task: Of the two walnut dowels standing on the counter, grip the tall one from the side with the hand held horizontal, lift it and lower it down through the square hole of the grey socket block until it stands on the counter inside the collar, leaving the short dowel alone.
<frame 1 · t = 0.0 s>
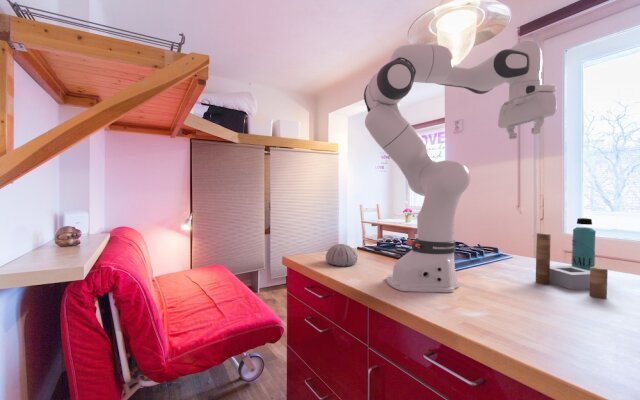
hand: (523, 136, 98), 48 cm above the kitchen island, tool pointing down, fingers open, 8 cm apart
long dowel: (542, 282, 96), on the kitchen island
sea urchin shell: (341, 264, 122), on the kitchen island
short dowel: (597, 296, 84), on the kitchen island
socket block: (570, 283, 95), on the kitchen island
beverage bottle: (582, 273, 108), on the kitchen island
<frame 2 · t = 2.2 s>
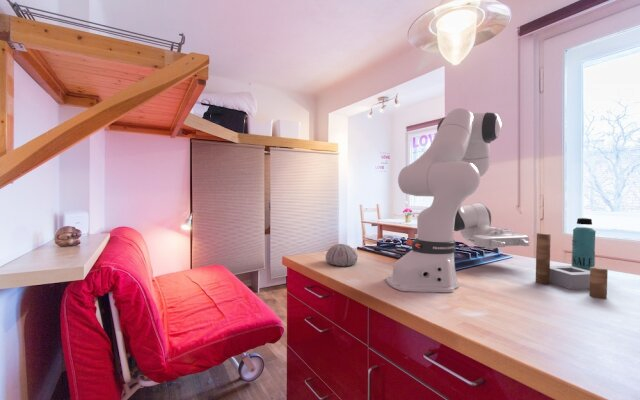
hand: (515, 244, 108), 10 cm above the kitchen island, tool horizontal, fingers open, 8 cm apart
nothing on the kitchen island moved.
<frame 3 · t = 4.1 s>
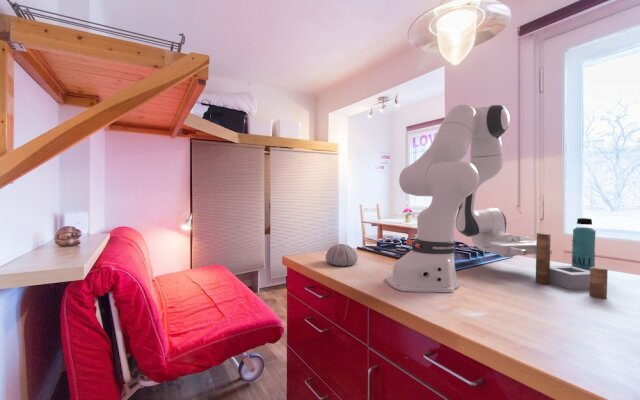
hand: (537, 252, 98), 9 cm above the kitchen island, tool horizontal, fingers open, 8 cm apart
nothing on the kitchen island moved.
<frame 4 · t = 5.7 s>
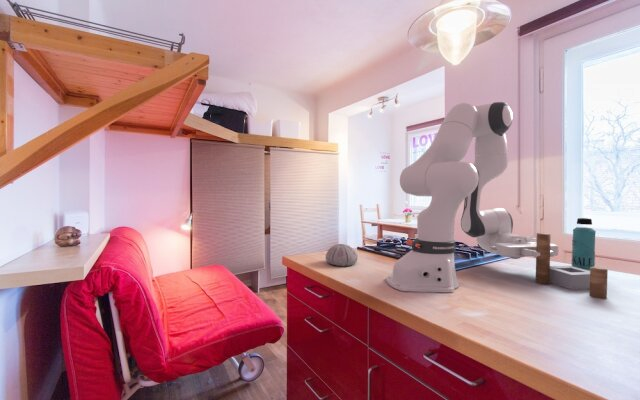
hand: (545, 254, 95), 10 cm above the kitchen island, tool horizontal, fingers closed on long dowel, 4 cm apart
long dowel: (542, 282, 96), on the kitchen island, touching gripper
everything else where it was.
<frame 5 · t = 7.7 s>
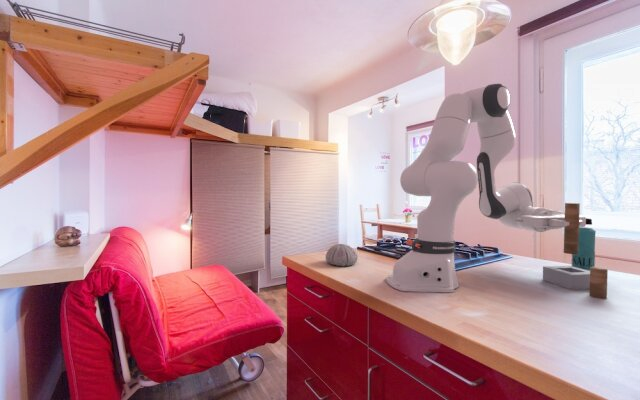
hand: (574, 223, 94), 19 cm above the kitchen island, tool horizontal, fingers closed on long dowel, 4 cm apart
long dowel: (570, 253, 95), point 10 cm above the kitchen island, touching gripper
everything else where it was.
when the fingers open (10 cm above the kitchen island, at t = 9.9 s): long dowel stays where it is, resting in socket block.
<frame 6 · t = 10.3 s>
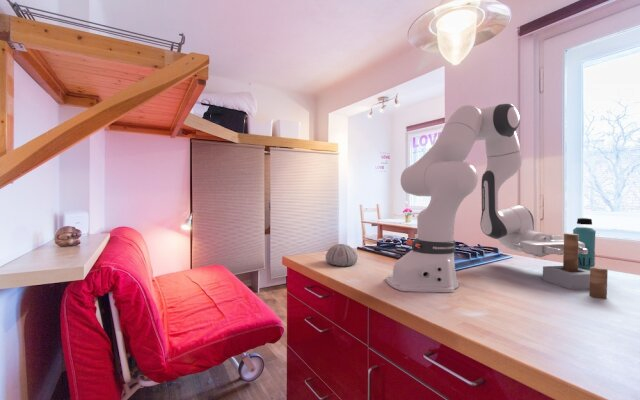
hand: (573, 252, 94), 10 cm above the kitchen island, tool horizontal, fingers open, 7 cm apart
long dowel: (570, 283, 95), resting in socket block
everything else where it was.
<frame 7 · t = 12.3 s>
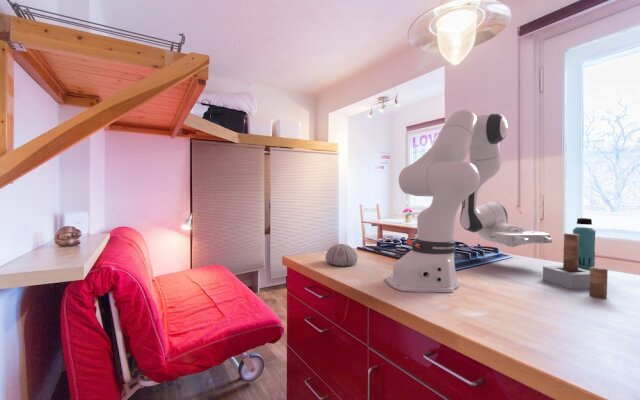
hand: (538, 241, 107), 12 cm above the kitchen island, tool horizontal, fingers open, 8 cm apart
nothing on the kitchen island moved.
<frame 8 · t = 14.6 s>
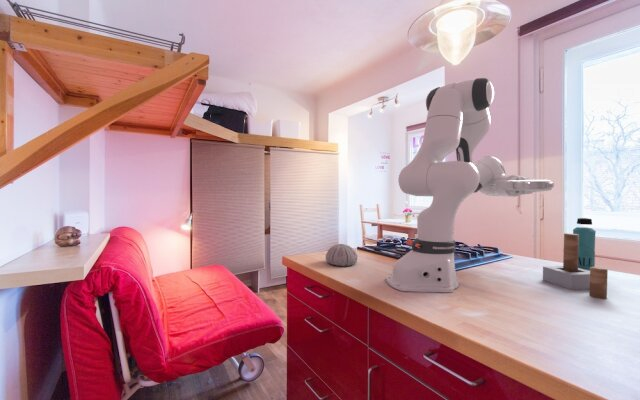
hand: (540, 185, 106), 32 cm above the kitchen island, tool horizontal, fingers open, 8 cm apart
nothing on the kitchen island moved.
at the end: long dowel 0.0 cm off-centre on the socket block, point 0.0 cm above the socket block's base; long dowel tilted 0°; the gripper is holding nothing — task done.
